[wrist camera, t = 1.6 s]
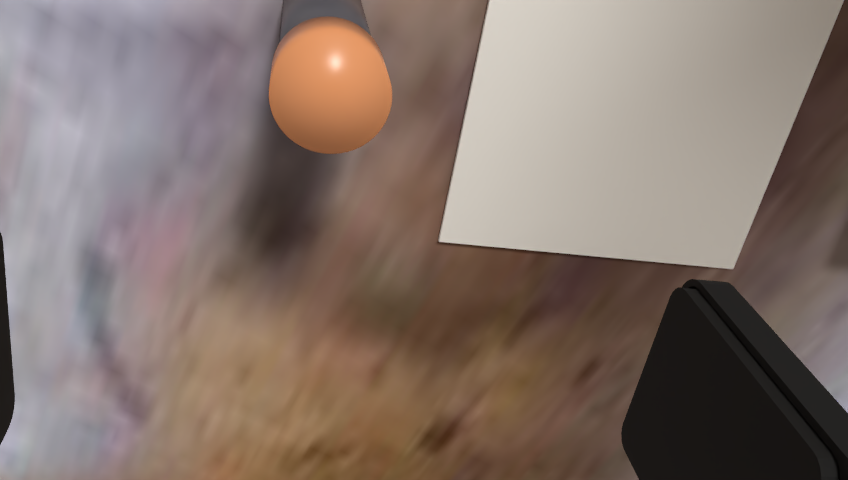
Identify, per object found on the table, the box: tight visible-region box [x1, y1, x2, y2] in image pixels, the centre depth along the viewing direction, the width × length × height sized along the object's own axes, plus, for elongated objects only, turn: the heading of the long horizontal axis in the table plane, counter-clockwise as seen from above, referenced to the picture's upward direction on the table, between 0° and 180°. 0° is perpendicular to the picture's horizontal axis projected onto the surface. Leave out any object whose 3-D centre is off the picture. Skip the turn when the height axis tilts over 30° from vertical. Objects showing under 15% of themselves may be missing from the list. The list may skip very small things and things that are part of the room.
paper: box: [438, 0, 844, 269], centre depth 32 cm, size 14×14×1 cm
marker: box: [269, 0, 392, 154], centre depth 24 cm, size 3×3×10 cm
